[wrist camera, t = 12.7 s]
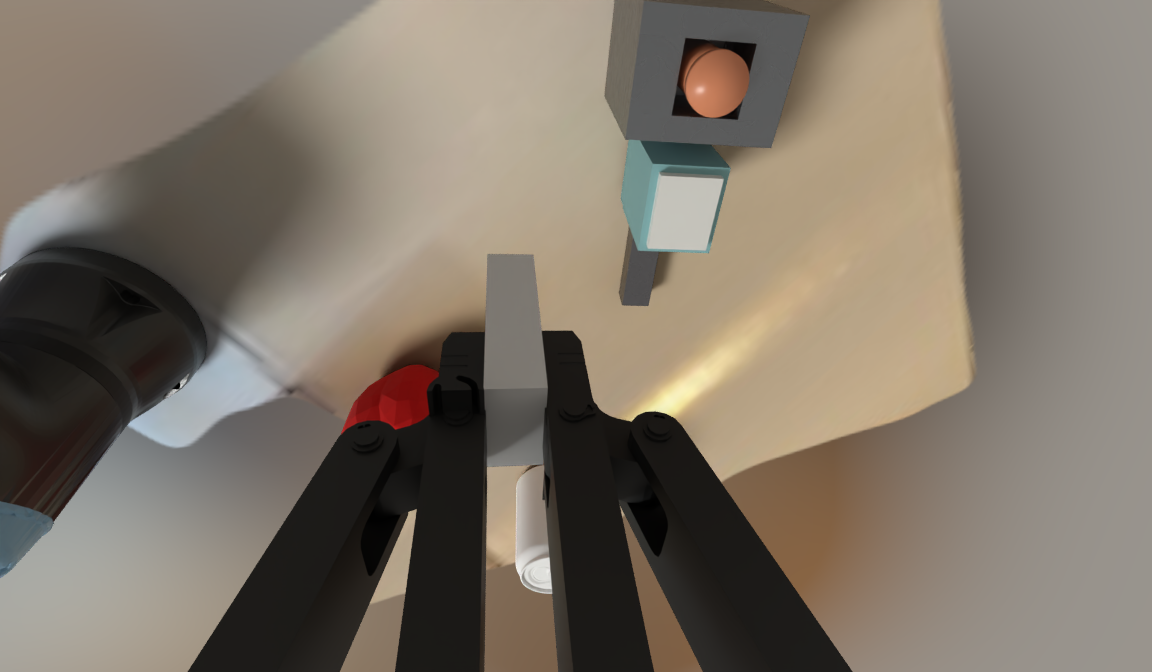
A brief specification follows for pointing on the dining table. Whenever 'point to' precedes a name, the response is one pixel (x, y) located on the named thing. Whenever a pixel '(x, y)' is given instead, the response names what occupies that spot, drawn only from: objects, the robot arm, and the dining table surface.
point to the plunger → (712, 78)
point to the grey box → (653, 57)
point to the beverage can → (532, 532)
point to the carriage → (673, 195)
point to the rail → (637, 274)
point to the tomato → (395, 398)
